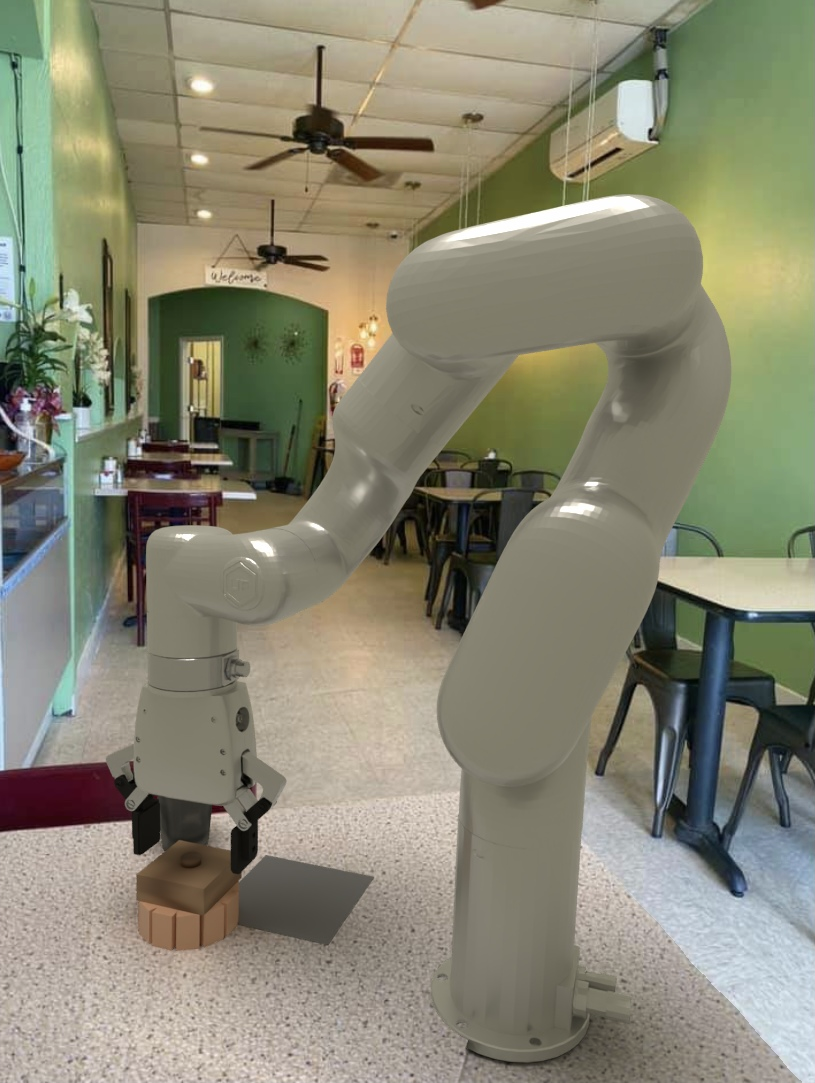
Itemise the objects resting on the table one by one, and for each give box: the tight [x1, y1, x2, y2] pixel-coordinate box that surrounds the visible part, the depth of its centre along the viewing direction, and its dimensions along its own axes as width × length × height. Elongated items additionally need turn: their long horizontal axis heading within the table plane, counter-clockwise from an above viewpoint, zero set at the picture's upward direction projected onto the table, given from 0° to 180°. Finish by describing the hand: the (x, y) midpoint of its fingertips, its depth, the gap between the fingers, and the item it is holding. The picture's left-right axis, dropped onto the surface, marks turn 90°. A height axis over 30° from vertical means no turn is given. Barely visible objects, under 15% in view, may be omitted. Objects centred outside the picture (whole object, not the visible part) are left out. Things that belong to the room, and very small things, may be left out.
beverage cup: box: [156, 796, 213, 852], centre depth 86 cm, size 7×7×20 cm
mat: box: [237, 854, 375, 946], centre depth 78 cm, size 12×12×1 cm
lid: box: [135, 840, 243, 916], centre depth 73 cm, size 7×7×3 cm
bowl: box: [137, 880, 240, 952], centre depth 73 cm, size 9×9×4 cm
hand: (194, 857), depth 73 cm, fingers open, 9 cm apart
